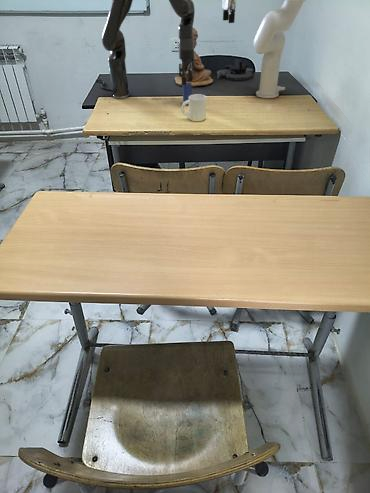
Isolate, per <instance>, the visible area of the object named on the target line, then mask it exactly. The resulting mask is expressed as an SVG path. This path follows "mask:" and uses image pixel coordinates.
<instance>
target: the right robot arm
mask: <svg viewBox="0 0 370 493" xmlns="http://www.w3.org/2000/svg"><path fill="white" fill-rule="evenodd" d="M305 1H306V0H283V2H282V4H281V6H280V7H279V8H277V9H274V10H271V11H269V12H267V13H266V14H265V16H264V17H263V18H262V21H261V23H260V25H259V27H258V29H257V32H256V33H255V36H254V39H253V50H254V51H255V53H257V54H259V55H263V56H262V58H261V69H260V78H259V86H258V87H259V88H258V90H256V92H255V95H256V97H259V98H261V99H275V98H277V97H279V95H280V92H282V91H285V90H286V87H285V86H280V85H278V82H279V74H280V67H281V59H282V54H283V50H284V48H285V44H286V36H285V33H284V32H286V31H288V30H289V29H290V28H291V27H292V25H293V24H294V22H295V20H296V18H297V16H298V15H299V13H300V10H301V9H302V6H303V4H304V2H305ZM236 7H237V0H221V8H222V21H228V24H235V18H236Z"/></svg>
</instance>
